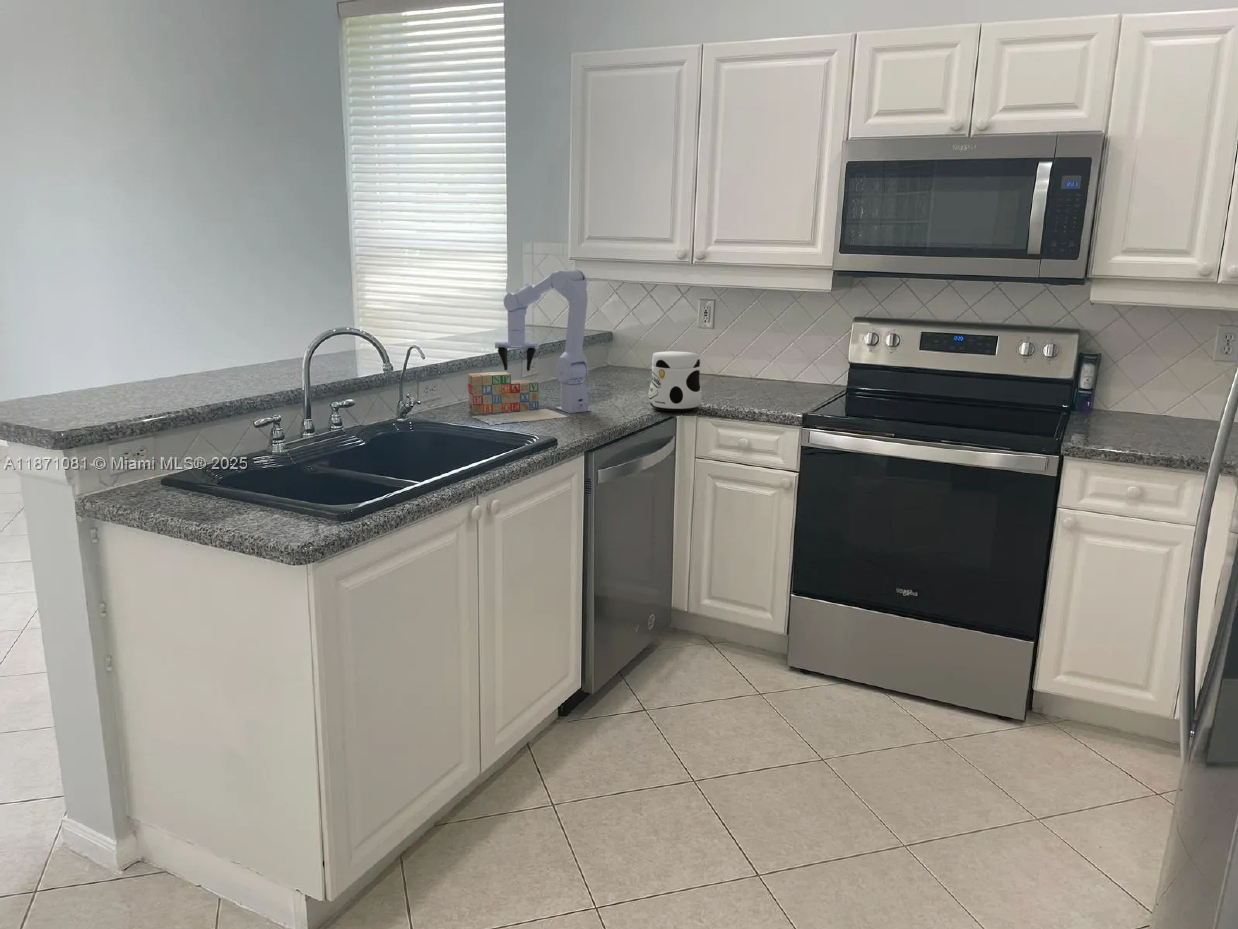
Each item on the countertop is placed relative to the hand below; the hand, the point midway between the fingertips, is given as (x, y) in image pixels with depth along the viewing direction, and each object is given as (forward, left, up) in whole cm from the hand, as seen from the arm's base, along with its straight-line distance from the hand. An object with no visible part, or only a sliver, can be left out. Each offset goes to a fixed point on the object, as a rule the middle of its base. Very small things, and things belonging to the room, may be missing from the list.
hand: (517, 370), depth 304 cm
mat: (-27, +12, -10) cm, 31 cm away
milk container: (-39, -38, -10) cm, 55 cm away
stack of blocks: (-15, +12, -11) cm, 22 cm away
